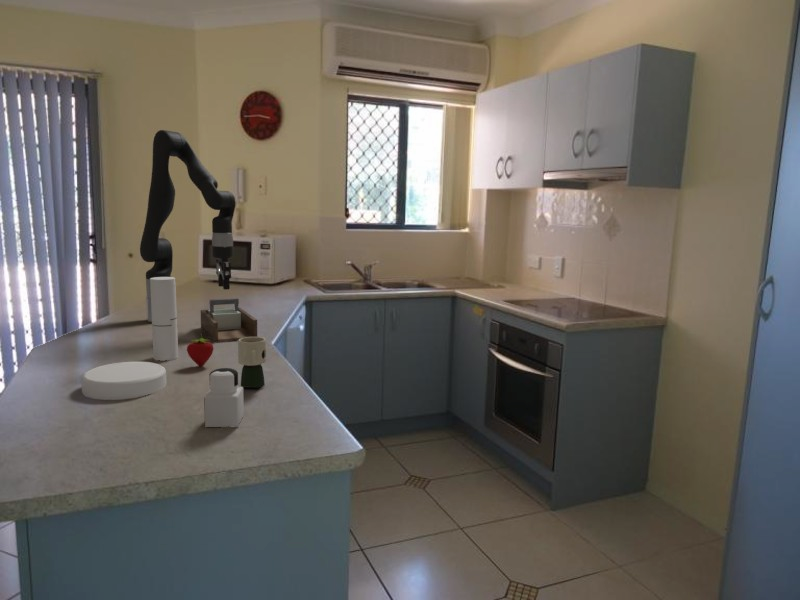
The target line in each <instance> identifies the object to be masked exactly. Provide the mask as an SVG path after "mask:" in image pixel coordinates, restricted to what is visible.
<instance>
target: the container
mask: <svg viewBox="0 0 800 600" xmlns="http://www.w3.org/2000/svg"><path fill="white" fill-rule="evenodd" d="M80 383H81V394H82V395H84V396H85V397H86V396H87V398H89V397H90V398H89V399H94V400H101V401H119V400H120V401H121V400H128V399H129V400H130V399H136V398H140V397H146V396H149V395H151V394H155V393H157V391H158V392H160V391H161V390H163V389H164V388H165V387H166V386H167V370H166V368H165V367H164V366H162V365H161V364H159V363H156V362H152V361H151V362H150V361H123V362H122V361H121V362H115V363H108V364H107V363H106V364H104V365H100V366H99V365H98V366H97V367H94V368H92V369H89V370H88V371H86V372H85V373H83V374H82V375H81V382H80ZM159 390H160V391H159ZM148 394H149V395H148ZM145 395H146V396H145Z"/></svg>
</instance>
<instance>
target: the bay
mask: <svg viewBox="0 0 800 600" xmlns="http://www.w3.org/2000/svg"><path fill="white" fill-rule="evenodd" d="M234 308H235V307H231V308H230V307H228V308H226V309H234ZM217 309H218V308H214V310H217ZM208 310H209V309H200V328H201V330H202V331H203V332H204V331H205V332H204V333H205V334H206V335H207V336H208V337H209V338H210V339H211V341H213V343H214V342H217V343H223V342H224V341H228V342H237V341H236V340H239V339H241V338H244V337H258V319H257V318H255V317H254V316H252V315H251V314H250V313H248V312H247V311H245V310H244V309H242V308H241V307H238V311H239V312H240V313H241V329H228V330H218V323H217V322H216V321H215V320H214V319H213V318H212V317H211V316H210V315H209V314H208ZM224 343H225V342H224Z"/></svg>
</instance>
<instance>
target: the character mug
mask: <svg viewBox="0 0 800 600" xmlns="http://www.w3.org/2000/svg"><path fill="white" fill-rule="evenodd" d="M237 348H238V349H237V351H238V352H237V353H238V357H237V358H238V361H237V362H238V364H239V365H242V367H241V368H242V369H241V376H240V387H243V388H251V389H255V388H262V387H264V386H265V385H266V384H265V376H264V368H263V366H262V364H265V363H266V361H267V340H266V338H265V337H262V336H257V337H244V338H241V339H239V340H238V342H237Z"/></svg>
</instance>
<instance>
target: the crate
mask: <svg viewBox="0 0 800 600" xmlns="http://www.w3.org/2000/svg"><path fill="white" fill-rule="evenodd" d="M239 301H240V300H239V298H237V297H236V298H234V297H233V298H219V299H218V298H217V299H209V309H207V310H208V314H209V315H210V316H211V317H212V318H213V319H214V320H215V321H216V322H217V323H218V330H228V329H241V313H240V312H239V311H238V308H239ZM219 305H234V307H233V308H234V309H227V308H216V309H217V310H214V309H215V308H214V307H215V306H219Z"/></svg>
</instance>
